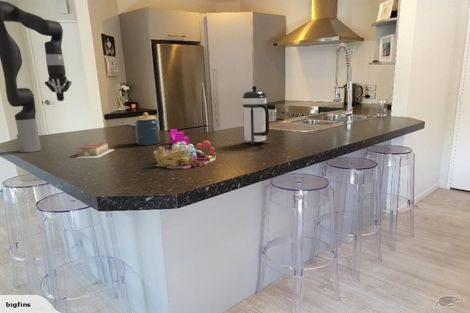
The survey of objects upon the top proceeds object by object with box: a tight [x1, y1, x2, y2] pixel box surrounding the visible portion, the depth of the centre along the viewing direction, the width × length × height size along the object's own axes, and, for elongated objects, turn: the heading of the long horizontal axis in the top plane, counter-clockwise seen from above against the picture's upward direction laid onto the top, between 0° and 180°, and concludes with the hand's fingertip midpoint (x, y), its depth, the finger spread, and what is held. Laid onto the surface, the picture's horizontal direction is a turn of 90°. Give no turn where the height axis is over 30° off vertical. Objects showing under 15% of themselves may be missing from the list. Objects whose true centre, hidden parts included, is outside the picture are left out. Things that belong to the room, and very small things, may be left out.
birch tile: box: [75, 142, 109, 157], centre depth 167 cm, size 4×12×10 cm
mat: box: [76, 148, 115, 159], centre depth 167 cm, size 11×18×1 cm, turn 176°
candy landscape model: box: [153, 139, 217, 170], centre depth 143 cm, size 25×24×9 cm
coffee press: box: [241, 85, 270, 146], centre depth 175 cm, size 17×16×30 cm
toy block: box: [169, 128, 190, 145], centre depth 184 cm, size 15×6×8 cm, turn 24°
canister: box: [134, 111, 161, 146], centre depth 188 cm, size 13×13×18 cm
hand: (60, 100), depth 164 cm, fingers closed
